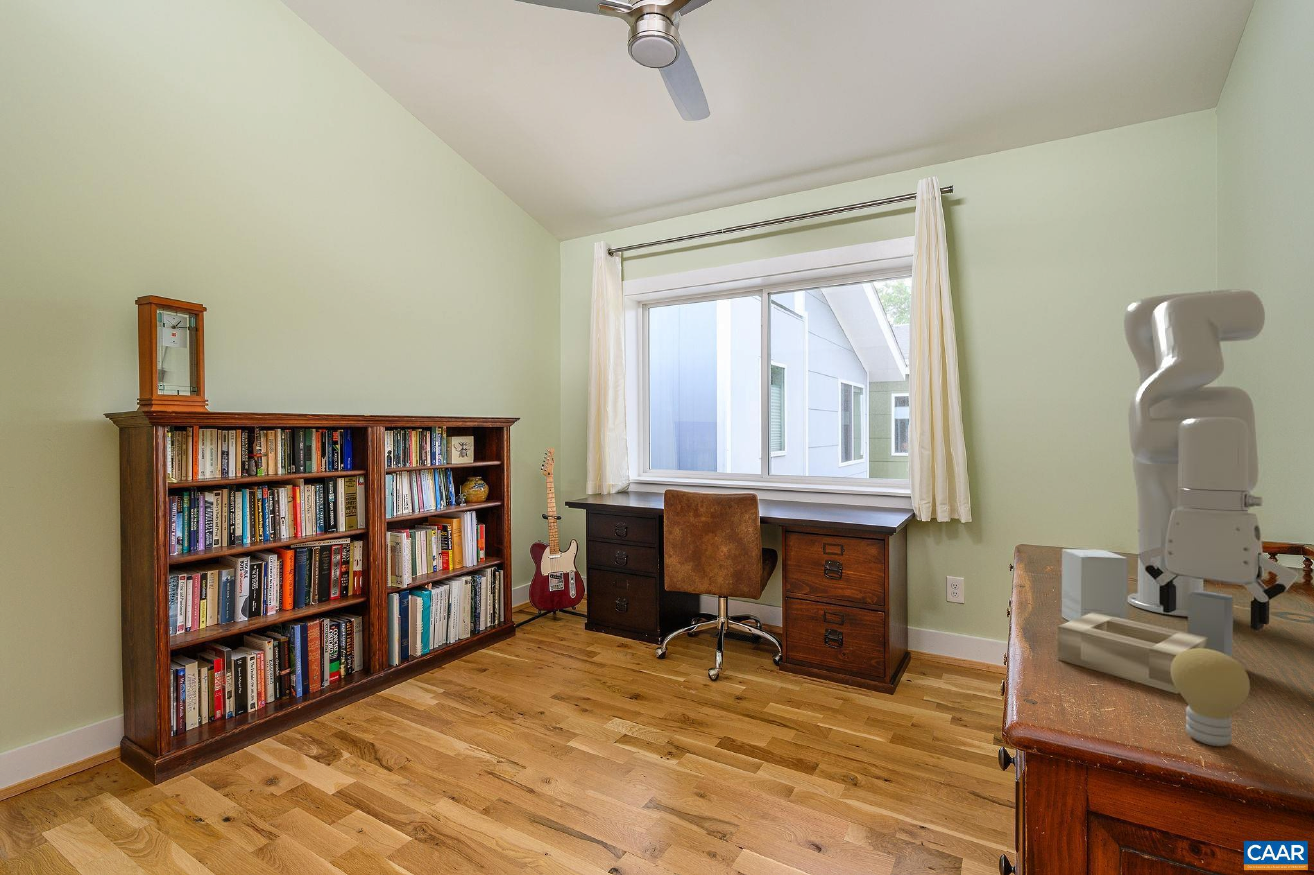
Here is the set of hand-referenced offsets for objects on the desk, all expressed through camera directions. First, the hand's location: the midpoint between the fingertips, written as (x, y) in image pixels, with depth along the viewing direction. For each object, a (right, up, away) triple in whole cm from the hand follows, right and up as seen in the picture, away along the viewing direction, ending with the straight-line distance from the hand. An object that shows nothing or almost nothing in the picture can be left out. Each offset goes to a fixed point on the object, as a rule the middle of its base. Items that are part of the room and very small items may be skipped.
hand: (1211, 619), depth 88 cm
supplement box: (-4, -7, +18) cm, 20 cm away
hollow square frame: (-12, -7, 0) cm, 14 cm away
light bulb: (-20, -7, -21) cm, 30 cm away
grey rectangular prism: (0, -7, +1) cm, 7 cm away
